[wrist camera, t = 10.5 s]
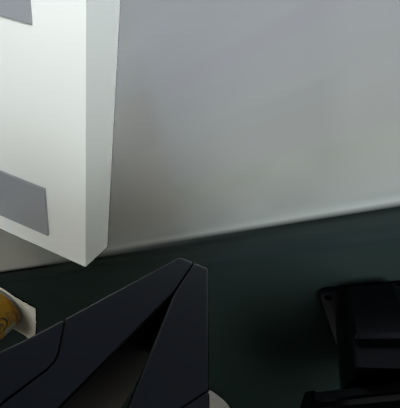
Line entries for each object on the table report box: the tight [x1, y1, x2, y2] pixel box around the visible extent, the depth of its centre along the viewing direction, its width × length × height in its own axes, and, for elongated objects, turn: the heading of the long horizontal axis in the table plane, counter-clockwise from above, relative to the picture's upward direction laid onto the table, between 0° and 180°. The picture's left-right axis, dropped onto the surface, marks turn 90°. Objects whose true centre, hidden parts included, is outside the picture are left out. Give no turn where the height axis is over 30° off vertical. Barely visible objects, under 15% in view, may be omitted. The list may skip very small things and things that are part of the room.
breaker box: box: [0, 0, 120, 267], centre depth 21 cm, size 15×23×3 cm, turn 168°
